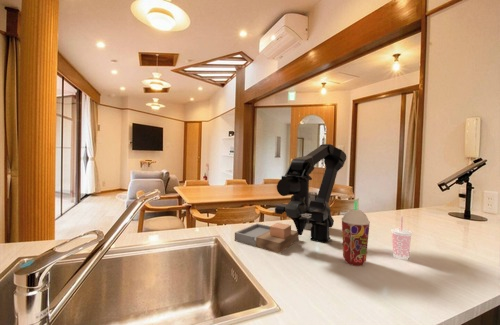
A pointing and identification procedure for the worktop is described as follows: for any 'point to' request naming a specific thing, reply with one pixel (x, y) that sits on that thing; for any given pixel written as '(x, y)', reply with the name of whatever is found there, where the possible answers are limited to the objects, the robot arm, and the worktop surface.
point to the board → (276, 241)
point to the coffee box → (312, 198)
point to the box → (251, 233)
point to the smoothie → (355, 236)
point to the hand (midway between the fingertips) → (300, 234)
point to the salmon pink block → (280, 230)
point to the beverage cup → (401, 242)
